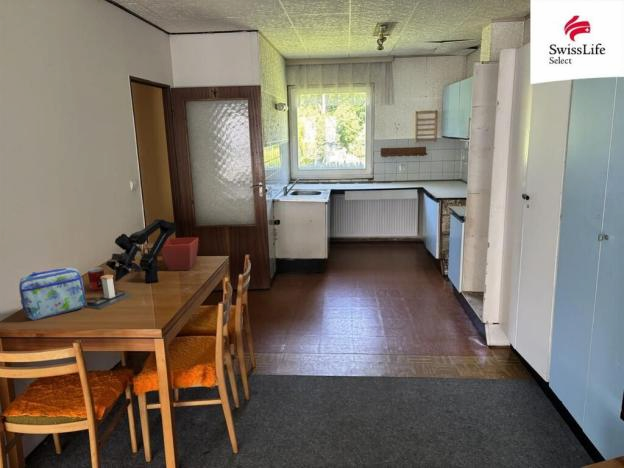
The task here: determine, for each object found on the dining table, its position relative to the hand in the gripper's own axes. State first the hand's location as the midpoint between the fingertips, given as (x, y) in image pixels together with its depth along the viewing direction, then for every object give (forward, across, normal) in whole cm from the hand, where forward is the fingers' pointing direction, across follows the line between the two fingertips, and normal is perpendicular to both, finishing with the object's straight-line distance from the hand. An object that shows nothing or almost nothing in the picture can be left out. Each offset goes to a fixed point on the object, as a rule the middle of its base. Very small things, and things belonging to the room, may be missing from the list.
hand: (115, 281), depth 238 cm
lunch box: (+25, -11, -13) cm, 30 cm away
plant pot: (-31, -1, +42) cm, 53 cm away
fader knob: (+8, 0, +1) cm, 8 cm away
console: (+10, 0, +2) cm, 10 cm away
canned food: (+2, -21, +10) cm, 23 cm away
